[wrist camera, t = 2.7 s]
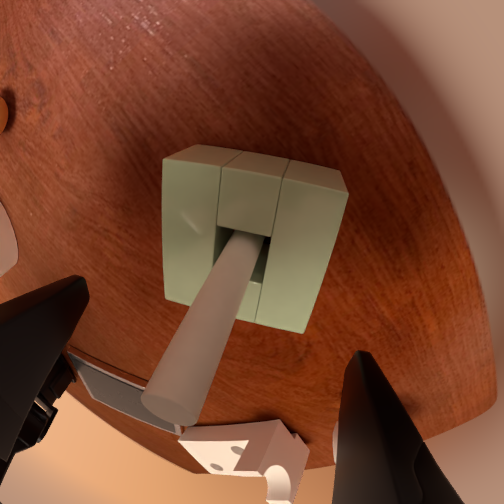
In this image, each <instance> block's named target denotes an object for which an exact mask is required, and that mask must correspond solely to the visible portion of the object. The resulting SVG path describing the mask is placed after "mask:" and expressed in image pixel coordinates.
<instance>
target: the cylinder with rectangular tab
mask: <svg viewBox="0 0 504 504" xmlns="http://www.w3.org/2000/svg"><path fill="white" fill-rule="evenodd" d="M17 260H18V247H17V241H16V237H15V234H14V230H13V227H12V225H11V222H10V219H9V217H8V215H7V213H6V211H5V209H4V207H3V205H2V204H1V202H0V277H1V276H2V275H3V274H5V273H6V272H7V271H8V270H9V269H11V268H12V267H13V266H14V265H15V264H16V263H17Z"/></svg>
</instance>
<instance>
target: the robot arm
mask: <svg viewBox="0 0 504 504" xmlns="http://www.w3.org/2000/svg"><path fill="white" fill-rule="evenodd" d="M89 298H90V296H89V291H88V287H87V283H86V280H85V278H84V277H81V276H79V275H72V276H69V277H67V278H64V279H61V280H59V281H56V282H54V283H51V284H49V285H46V286H43V287H41V288H38V289H36V290H34V291H31V292H29V293H26V294H24V295H21V296H19V297H16V298H14V299H12V300H9V301H7V302H4V303H2V304H0V485H1V483H2V481H3V478H4V476H5V474H6V472H7V469H8V467H9V465H10V463H11V461H12V459H13V457H14V455H15V454H16V453H18V452H21V451H23V450H26V449H28V448H30V447H32V446H34V445H35V444H36V442H37V443H39V442H40V441H41V440H42V439H43V438H44V436H45V435H46V433H47V431H48V429H49V427H50V425H51V423H52V421H53V419H54V417H55V415H56V414H57V412H58V409H57V408H55V407H53V406H52V405H53V403H54V402H55V400H56V399H57V398H58V399H59V398H60V397H61V395H62V394H63V392H64V391H65V390H66V388H67V387H68V385H69V384H70V382H73V383H75V382H76V379H75V378H74V376H73V374H72V372H71V370H70V369H69V367H68V365H67V363H66V361H65V359H64V357H63V356H62V355H61V354H60V353H61V352H62V350H63V348H64V347H65V345H66V344H67V342H68V340H69V339H70V337H71V335H72V333H73V331H74V329H75V327H76V325H77V323H78V321H79V319H80V318H81V316H82V314H83V312H84V310H85V308H86V306H87V304H88V302H89ZM34 400H35V401H36V402H37V403H38V404H39V405H41V406H42V407H43V408H44V409H45V410H46V412H45V411H44V410H43V409H42V408H41V407H40V406H38V405H37V404H36V403H35V402H34ZM0 504H2V503H1V502H0ZM332 504H464V502H463V501H462V500H461V498H460V497H459V495H458V494H457V493H456V491H455V490H454V488H453V487H452V485H451V484H450V482H449V481H448V479H447V478H446V477H445V475H444V474H443V472H442V471H441V469H440V467H439V466H438V465H437V463H436V461H435V459H434V458H433V456H432V454H431V453H430V451H429V449H428V448H427V446H426V444H425V442H423V439H422V437H421V435H420V434H419V432H418V430H417V428H416V427H415V425H414V423H413V421H412V420H411V418H410V416H409V415H408V413H407V411H406V410H405V408H404V406H403V405H402V403H401V401H400V400H399V398H398V396H397V395H396V393H395V391H394V390H393V388H392V386H391V385H390V383H389V382H388V380H387V378H386V377H385V375H384V374H383V372H382V370H381V369H380V367H379V366H378V364H377V362H376V361H375V359H374V358H373V356H372V354H371V353H370V352H367V351H361V350H358V351H356V352H355V353H354V355H353V357H352V358H351V360H350V362H349V363H348V365H347V367H346V370H345V374H344V382H343V390H342V397H341V404H340V411H339V421H338V440H337V456H336V470H335V480H334V490H333V500H332Z"/></svg>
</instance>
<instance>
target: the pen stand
mask: <svg viewBox="0 0 504 504" xmlns="http://www.w3.org/2000/svg"><path fill="white" fill-rule="evenodd" d="M348 196H349V193H348V190H347V187H346V184H345V182H344V179H343V176H342V174H341V171H339V170H335V169H331V168H327V167H323V166H319V165H314V164H310V163H305V162H301V161H296V160H289V159H286V158H281V157H276V156H270V155H265V154H259V153H254V152H248V151H244V152H243V151H242V150H236V149H229V148H222V147H215V146H208V145H200V144H196V145H193V146H191V147H189V148H186V149H184V150H182V151H179V152H177V153H175V154H172V155H170V156H168V157H166V158H164V159H163V166H162V251H163V274H164V291H165V299H167V300H170V301H174V302H177V303H181V304H184V305H188V306H191V305H192V303H193V301H194V299H195V298H196V296H197V294H198V292H199V291H200V289H201V287H202V285H203V284H204V282H205V280H206V278H207V277H208V275H209V273H210V272H211V270H212V268H213V266H214V265H215V263H216V261H217V260H218V258H219V256H220V254H221V253H222V251H223V249H224V248H225V246H226V244H227V243H228V241H229V239H230V237H231V236H232V234H233V229H236V230H240V231H245V232H250V233H254V234H259V235H263V236H268V237H271V236H272V237H271V242H270V244H266V243H263V245H262V247H261V250H260V253H259V256H258V258H257V261H256V264H255V267H254V269H253V272H252V275H251V278H250V280H249V283H248V286H247V289H246V291H245V294H244V297H243V299H242V302H241V305H240V308H239V310H238V313H237V316H236V319H240V320H244V321H248V322H252V323H254V322H255V323H257V324H261V325H265V326H269V327H274V328H278V329H283V330H287V331H292V332H297V333H302V334H303V333H304V331H305V329H306V326H307V324H308V321H309V318H310V315H311V313H312V310H313V307H314V304H315V302H316V299H317V296H318V293H319V290H320V287H321V284H322V281H323V278H324V275H325V272H326V269H327V266H328V263H329V260H330V257H331V254H332V251H333V248H334V244H335V241H336V238H337V234H338V231H339V228H340V224H341V221H342V218H343V214H344V211H345V207H346V203H347V200H348Z"/></svg>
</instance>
